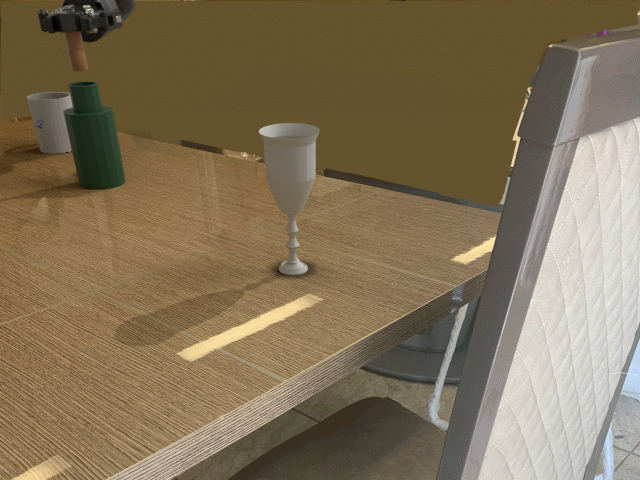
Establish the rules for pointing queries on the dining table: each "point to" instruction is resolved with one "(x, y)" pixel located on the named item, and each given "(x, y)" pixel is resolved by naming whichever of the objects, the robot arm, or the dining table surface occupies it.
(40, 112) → the mug
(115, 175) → the bottle
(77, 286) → the dining table surface
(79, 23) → the stopper
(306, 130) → the chalice
